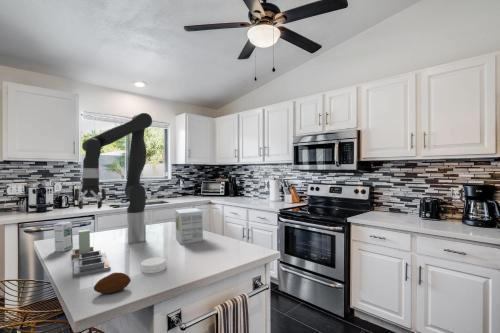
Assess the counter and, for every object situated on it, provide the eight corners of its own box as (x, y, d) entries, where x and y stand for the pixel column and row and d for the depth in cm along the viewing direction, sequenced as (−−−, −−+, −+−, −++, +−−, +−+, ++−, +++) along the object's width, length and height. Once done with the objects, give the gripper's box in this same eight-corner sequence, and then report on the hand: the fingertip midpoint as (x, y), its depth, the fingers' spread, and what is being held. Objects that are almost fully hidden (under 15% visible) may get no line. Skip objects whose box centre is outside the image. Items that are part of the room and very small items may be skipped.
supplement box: (175, 239, 160) (174, 209, 160) (197, 235, 166) (196, 207, 166) (180, 244, 148) (179, 213, 148) (203, 241, 154) (202, 210, 154)
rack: (105, 255, 132) (105, 248, 132) (110, 270, 113) (110, 262, 113) (73, 261, 125) (73, 254, 125) (73, 277, 106) (73, 269, 106)
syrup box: (63, 251, 140) (63, 223, 140) (54, 251, 141) (53, 223, 141) (73, 248, 145) (72, 221, 145) (63, 247, 147) (63, 221, 146)
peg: (89, 252, 138) (89, 229, 138) (90, 254, 134) (89, 230, 134) (79, 254, 135) (78, 230, 135) (79, 256, 132) (78, 232, 131)
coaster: (160, 263, 121) (160, 255, 121) (170, 269, 114) (169, 261, 114) (137, 269, 115) (137, 260, 115) (146, 276, 107) (146, 267, 107)
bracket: (93, 250, 141) (93, 246, 141) (94, 255, 133) (94, 251, 133) (72, 253, 136) (72, 249, 136) (72, 259, 128) (72, 255, 128)
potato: (93, 292, 94) (92, 274, 94) (129, 284, 100) (128, 266, 100) (94, 299, 88) (94, 280, 88) (132, 290, 95) (131, 272, 95)
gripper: (108, 177, 144) (107, 207, 144) (78, 177, 142) (78, 208, 141) (103, 177, 137) (102, 209, 136) (72, 177, 134) (71, 209, 134)
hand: (90, 208), depth 139 cm, fingers open, 8 cm apart
